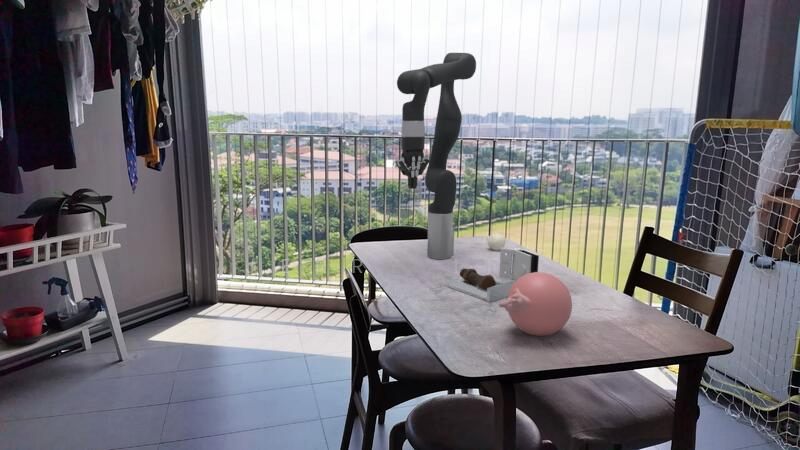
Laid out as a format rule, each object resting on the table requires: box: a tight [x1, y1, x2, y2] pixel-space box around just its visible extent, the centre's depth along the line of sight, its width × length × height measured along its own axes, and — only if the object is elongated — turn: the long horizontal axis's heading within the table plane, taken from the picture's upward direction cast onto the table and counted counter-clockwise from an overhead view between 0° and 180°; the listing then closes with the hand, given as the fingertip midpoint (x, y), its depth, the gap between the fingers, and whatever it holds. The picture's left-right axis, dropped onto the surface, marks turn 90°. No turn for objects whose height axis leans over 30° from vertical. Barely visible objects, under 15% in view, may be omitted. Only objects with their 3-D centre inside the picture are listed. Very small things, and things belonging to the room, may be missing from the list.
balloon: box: [498, 271, 573, 337], centre depth 129 cm, size 15×20×15 cm
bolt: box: [459, 268, 496, 291], centre depth 164 cm, size 6×5×15 cm
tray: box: [443, 274, 516, 303], centre depth 163 cm, size 11×19×4 cm, turn 38°
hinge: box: [498, 247, 540, 282], centre depth 172 cm, size 14×5×10 cm, turn 37°
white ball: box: [486, 232, 506, 251], centre depth 212 cm, size 7×7×7 cm
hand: (412, 188), depth 175 cm, fingers closed
